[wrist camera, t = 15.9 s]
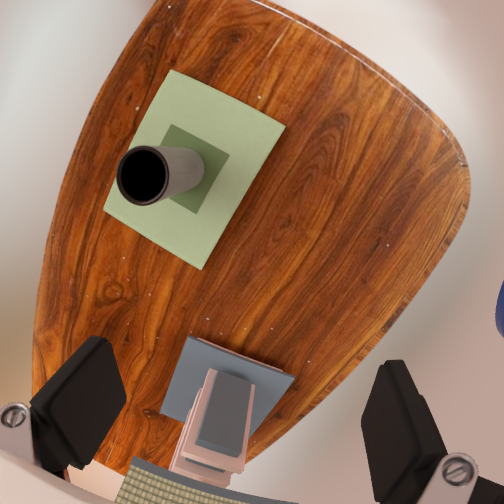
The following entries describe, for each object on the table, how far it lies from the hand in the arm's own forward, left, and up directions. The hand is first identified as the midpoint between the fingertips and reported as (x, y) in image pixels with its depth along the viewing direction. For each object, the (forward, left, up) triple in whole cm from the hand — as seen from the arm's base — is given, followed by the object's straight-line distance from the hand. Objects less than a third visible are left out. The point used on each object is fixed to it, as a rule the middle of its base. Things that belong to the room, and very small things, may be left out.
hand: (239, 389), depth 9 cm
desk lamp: (+23, +7, -24) cm, 34 cm away
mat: (-1, -11, -24) cm, 26 cm away
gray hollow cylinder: (-1, -11, -23) cm, 26 cm away
